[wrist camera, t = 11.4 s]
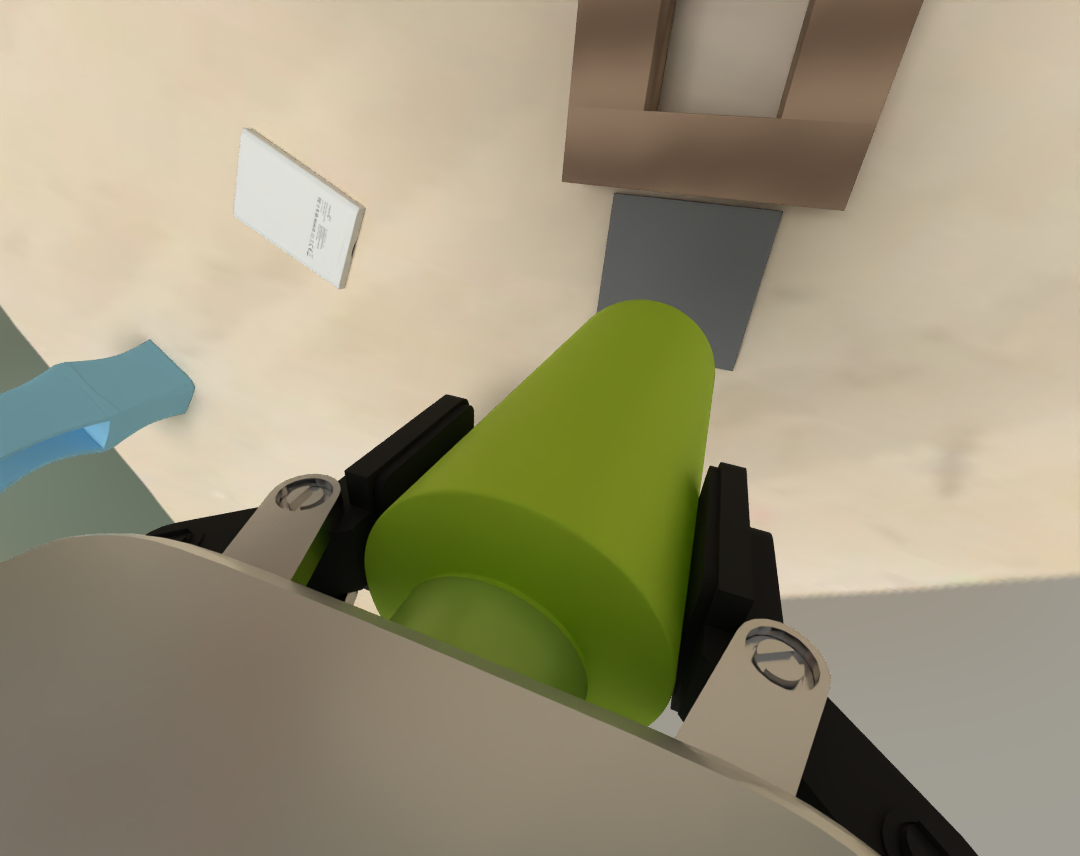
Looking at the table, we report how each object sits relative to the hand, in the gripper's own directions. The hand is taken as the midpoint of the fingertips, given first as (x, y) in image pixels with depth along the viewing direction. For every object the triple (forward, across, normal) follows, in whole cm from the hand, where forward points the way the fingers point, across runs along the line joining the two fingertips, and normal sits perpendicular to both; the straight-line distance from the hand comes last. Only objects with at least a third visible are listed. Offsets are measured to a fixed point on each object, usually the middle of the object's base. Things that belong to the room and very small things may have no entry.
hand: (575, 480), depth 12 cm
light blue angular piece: (+27, +62, +22) cm, 71 cm away
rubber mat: (+27, 0, 0) cm, 27 cm away
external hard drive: (+28, +35, -1) cm, 44 cm away
